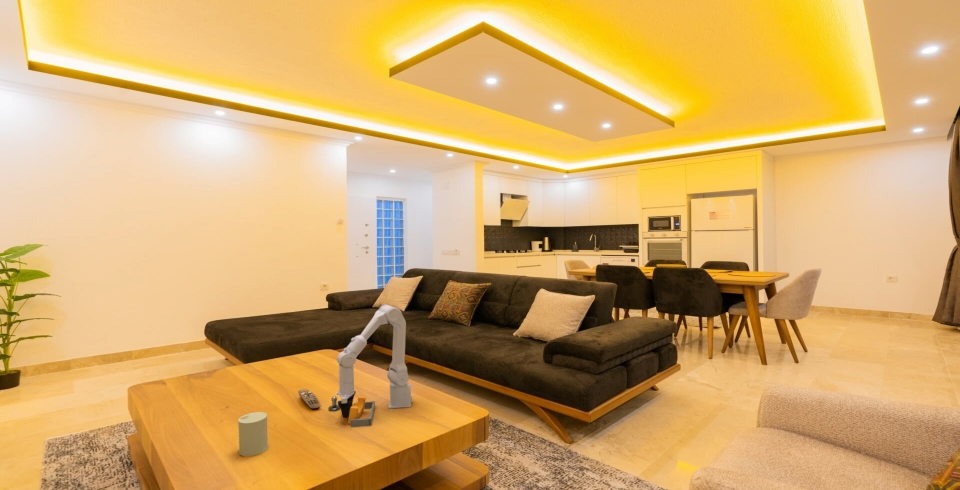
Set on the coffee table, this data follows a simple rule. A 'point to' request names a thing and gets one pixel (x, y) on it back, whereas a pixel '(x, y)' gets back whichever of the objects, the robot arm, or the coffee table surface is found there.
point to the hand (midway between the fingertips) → (347, 413)
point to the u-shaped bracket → (367, 420)
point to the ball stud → (334, 404)
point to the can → (253, 434)
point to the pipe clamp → (357, 409)
